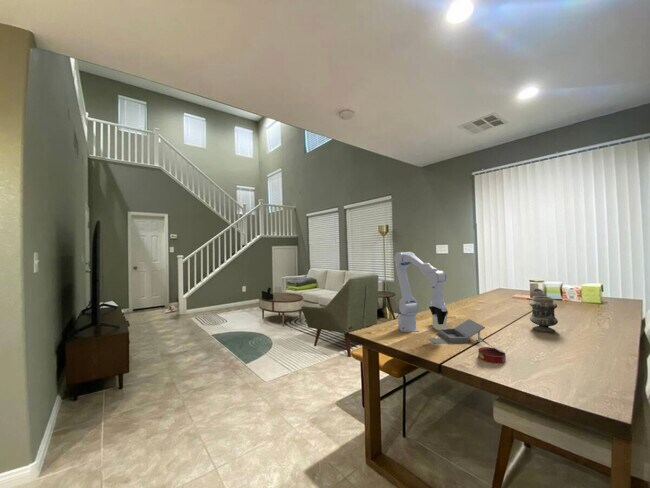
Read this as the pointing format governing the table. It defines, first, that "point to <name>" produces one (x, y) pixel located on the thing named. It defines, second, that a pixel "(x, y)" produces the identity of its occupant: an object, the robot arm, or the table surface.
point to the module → (439, 326)
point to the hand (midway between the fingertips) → (438, 322)
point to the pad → (438, 340)
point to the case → (462, 332)
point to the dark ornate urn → (543, 313)
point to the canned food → (491, 354)
